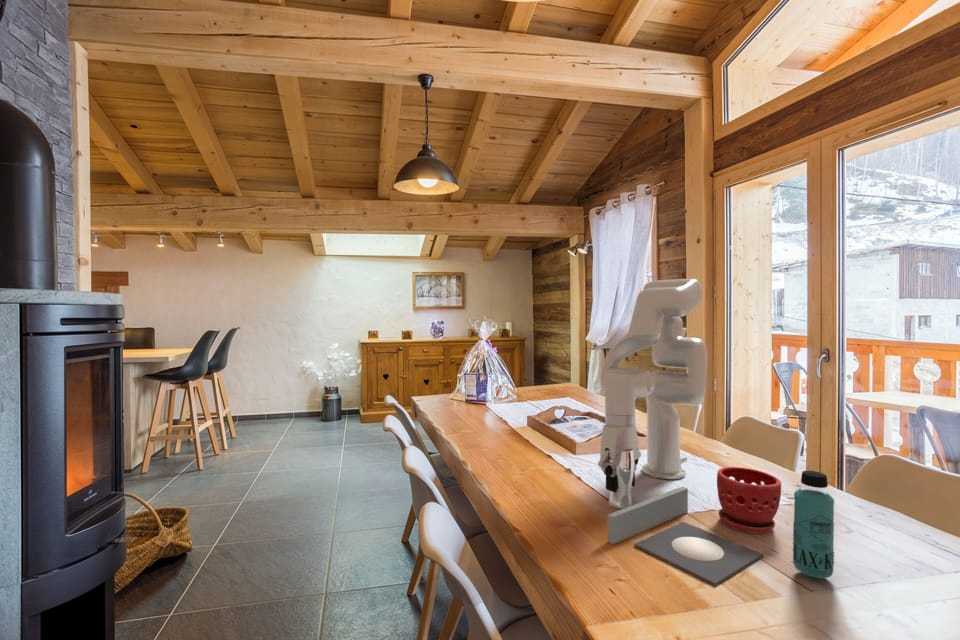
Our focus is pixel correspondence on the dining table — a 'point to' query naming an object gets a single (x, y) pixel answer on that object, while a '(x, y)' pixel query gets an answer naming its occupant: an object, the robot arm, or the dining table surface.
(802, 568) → the beverage bottle
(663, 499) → the low wall
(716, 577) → the dark gray mat
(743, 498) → the plant pot
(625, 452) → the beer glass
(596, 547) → the dining table surface
